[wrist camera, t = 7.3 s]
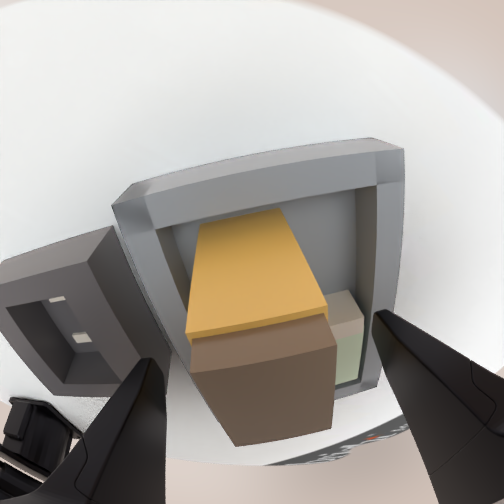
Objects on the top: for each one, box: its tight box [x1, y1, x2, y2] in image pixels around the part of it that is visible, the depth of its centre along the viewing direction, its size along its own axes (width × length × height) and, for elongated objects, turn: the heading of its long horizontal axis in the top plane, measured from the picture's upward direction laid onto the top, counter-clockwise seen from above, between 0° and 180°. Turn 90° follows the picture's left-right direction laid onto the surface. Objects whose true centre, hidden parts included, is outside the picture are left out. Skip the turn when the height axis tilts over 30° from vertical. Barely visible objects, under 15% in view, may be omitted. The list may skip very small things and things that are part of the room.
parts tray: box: [111, 138, 405, 422], centre depth 13 cm, size 14×10×2 cm
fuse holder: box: [0, 226, 171, 397], centre depth 12 cm, size 8×8×3 cm
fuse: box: [324, 290, 364, 385], centre depth 14 cm, size 5×3×2 cm, turn 10°
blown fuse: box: [185, 208, 337, 447], centre depth 10 cm, size 5×3×7 cm
